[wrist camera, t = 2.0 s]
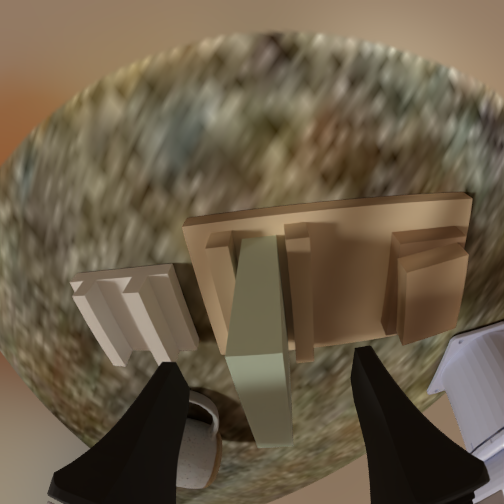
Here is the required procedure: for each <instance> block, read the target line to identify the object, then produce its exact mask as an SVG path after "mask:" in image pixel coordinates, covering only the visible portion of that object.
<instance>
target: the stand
mask: <svg viewBox="0 0 504 504" xmlns="http://www.w3.org/2000/svg"><path fill="white" fill-rule="evenodd" d="M70 284H71V286H72V288H73V289H74V291H75V293H74V294H73V296H72V297H73V299H74V301H75V303H76V304H77V306H78V308H79V310H80V312H81V313H82V315H83V317H84V319H85V320H86V322H87V324H88V326H89V327H90V329H91V331H92V332H93V334H94V336H95V337H96V339H97V340H98V342H99V344H100V345H101V347H102V348H103V350H104V351H105V353H106V355H107V356H108V358H109V359H110V361H111V362H112V364H113V365H114V366H126V365H127V362H128V360H129V357H130V355H131V352H132V350H144V351H151V352H152V354H153V356H154V358H155V360H156V361H157V363H158V365H160V364H161V363H162V362H176V361H177V358H178V354H179V351H192V350H197V348H198V343H199V337H198V334H197V332H196V329H195V326H194V324H193V321H192V318H191V316H190V313H189V310H188V307H187V304H186V302H185V299H184V296H183V293H182V290H181V287H180V284H179V281H178V278H177V276H176V273H175V269H174V266H173V263H171V264H162V265H152V266H143V267H133V268H124V269H114V270H104V271H95V272H85V273H77V274H76V275H75V276H74V278H73V279H72V280H71V281H70Z"/></svg>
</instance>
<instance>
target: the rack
mask: <svg viewBox="0 0 504 504" xmlns="http://www.w3.org/2000/svg"><path fill="white" fill-rule="evenodd" d="M472 200H473V199H472V198H471V197H470V196H468V195H467V194H465V193H464V192H451V193H431V194H414V195H398V196H384V197H371V198H359V199H347V200H336V201H325V202H315V203H305V204H296V205H287V206H278V207H269V208H261V209H252V210H244V211H236V212H229V213H221V214H214V215H206V216H199V217H192V218H187V219H186V221H185V222H184V224H183V226H182V229H183V232H184V236H185V240H186V243H187V247H188V250H189V254H190V257H191V261H192V264H193V268H194V271H195V274H196V278H197V281H198V284H199V288H200V291H201V294H202V297H203V301H204V304H205V307H206V310H207V313H208V316H209V320H210V323H211V326H212V329H213V332H214V335H215V338H216V341H217V344H218V347H219V350H220V353H221V355H225V353H226V345H227V338H228V331H229V324H230V317H231V310H232V303H233V296H234V289H235V282H236V275H237V269H238V262H239V255H240V248H241V242H242V239H245V238H254V237H263V236H272V235H276V238H277V246H278V255H279V263H280V272H281V280H282V289H283V298H284V307H285V316H286V326H287V335H288V348H289V350H296V362H297V363H303V362H312V361H314V347H323V346H330V345H338V344H345V343H352V342H359V341H365V340H371V339H377V338H383V337H388V336H394V335H398V334H392V335H387V336H386V335H385V332H384V329H383V327H382V324H381V316H382V310H383V303H384V297H385V290H386V282H387V275H388V266H389V257H390V246H391V234H392V232H399V231H408V230H418V229H428V228H437V227H447V226H456V227H457V228H459V229H460V230H461V231H462V232H463V233H464V234H465V235H466V236H467V232H468V226H469V220H470V214H471V207H472Z"/></svg>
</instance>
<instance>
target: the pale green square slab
mask: <svg viewBox="0 0 504 504" xmlns="http://www.w3.org/2000/svg"><path fill="white" fill-rule="evenodd" d="M225 358H226V361H227V364H228V367H229V370H230V373H231V376H232V379H233V382H234V384H235V387H236V390H237V393H238V396H239V399H240V401H241V404H242V407H243V410H244V412H245V415H246V418H247V420H248V423H249V426H250V428H251V431H252V433H253V436H254V439H255V441H256V444H257V446H258V448H270V447H288V446H293V425H292V403H291V383H290V365H289V348H288V335H287V326H286V316H285V307H284V298H283V289H282V280H281V272H280V263H279V255H278V246H277V238H276V235H272V236H263V237H254V238H245V239H242V242H241V248H240V255H239V262H238V269H237V275H236V282H235V289H234V296H233V303H232V310H231V317H230V324H229V331H228V338H227V345H226V353H225Z"/></svg>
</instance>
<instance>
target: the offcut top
mask: <svg viewBox="0 0 504 504" xmlns="http://www.w3.org/2000/svg"><path fill="white" fill-rule="evenodd" d="M468 256H469V254H468V253H467V252H466V251H465V250H464V249H463V248H462V247H461V246H460V245H459V244H458V243H457V242H456V243H452V244H449V245H445V246H442V247H438V248H435V249H431V250H428V251H424V252H420V253H416V254H413V255H409V256H405V257H401V258H398V302H397V327H396V331H397V333H398V336H399V338H400V341H401V343H402V345H406V344H409V343H413V342H416V341H419V340H422V339H425V338H428V337H431V336H434V335H437V334H440V333H443V332H445V331H448V330H451V329H454V328H456V324H457V320H458V315H459V311H460V306H461V301H462V295H463V290H464V284H465V278H466V271H467V264H468Z"/></svg>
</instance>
